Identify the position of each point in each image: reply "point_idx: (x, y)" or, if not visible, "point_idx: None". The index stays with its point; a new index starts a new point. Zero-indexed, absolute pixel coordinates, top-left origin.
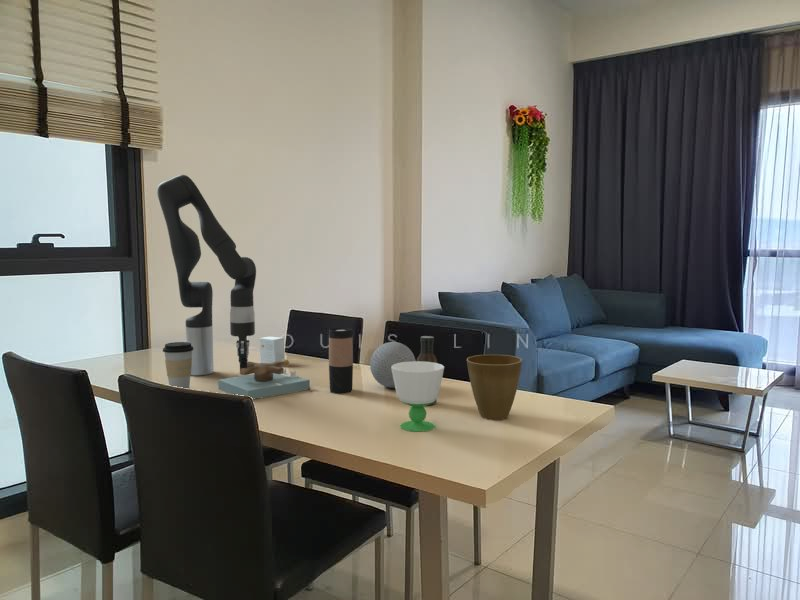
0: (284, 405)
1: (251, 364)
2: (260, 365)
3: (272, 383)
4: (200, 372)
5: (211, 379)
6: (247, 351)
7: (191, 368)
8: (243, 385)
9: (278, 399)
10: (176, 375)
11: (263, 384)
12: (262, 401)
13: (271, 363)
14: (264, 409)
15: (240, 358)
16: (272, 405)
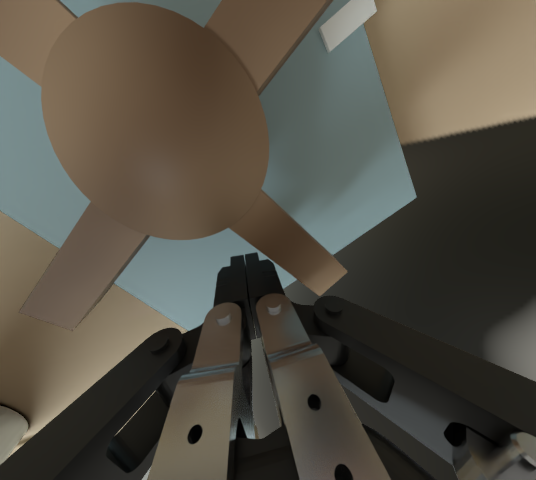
0: (521, 11)
1: (122, 268)
2: (215, 176)
3: (301, 77)
4: (6, 424)
5: (66, 370)
6: (347, 413)
7: (4, 459)
8: (318, 234)
9: (413, 51)
10: (258, 437)
11: (316, 137)
12: (416, 131)
13: (64, 34)
14: (521, 110)
15: (334, 364)
16: (490, 78)
